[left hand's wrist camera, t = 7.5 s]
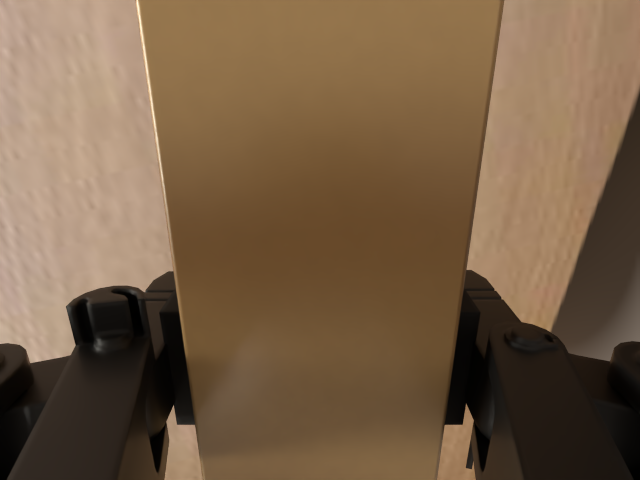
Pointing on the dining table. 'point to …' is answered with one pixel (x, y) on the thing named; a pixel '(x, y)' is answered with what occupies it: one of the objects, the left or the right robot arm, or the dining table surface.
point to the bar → (319, 222)
